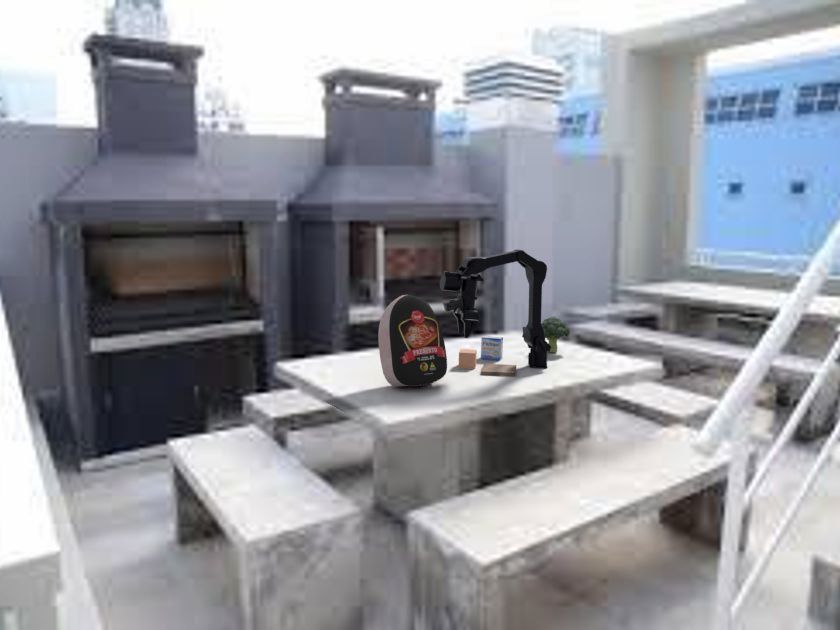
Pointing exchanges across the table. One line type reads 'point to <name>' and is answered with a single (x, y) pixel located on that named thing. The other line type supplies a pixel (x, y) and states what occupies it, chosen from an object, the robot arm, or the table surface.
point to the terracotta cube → (467, 358)
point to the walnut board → (498, 369)
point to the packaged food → (411, 343)
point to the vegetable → (554, 331)
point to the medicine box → (491, 347)
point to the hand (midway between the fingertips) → (463, 335)
